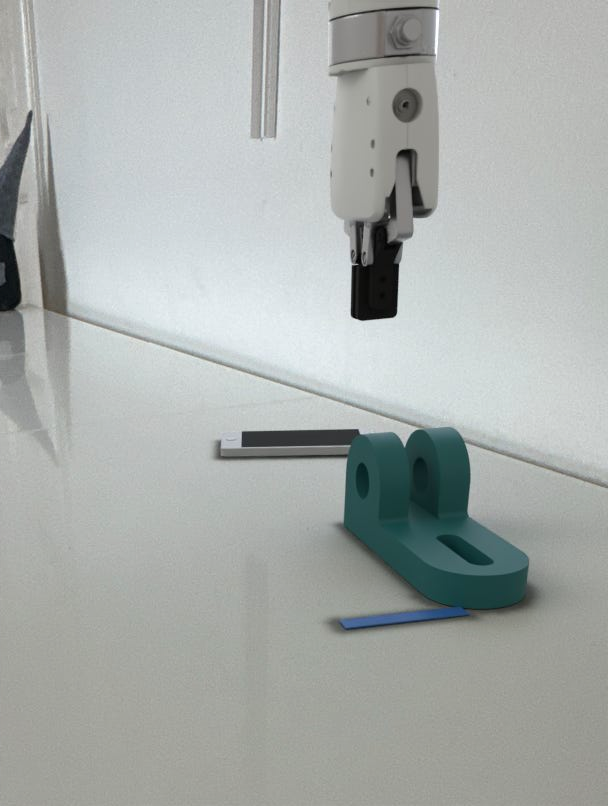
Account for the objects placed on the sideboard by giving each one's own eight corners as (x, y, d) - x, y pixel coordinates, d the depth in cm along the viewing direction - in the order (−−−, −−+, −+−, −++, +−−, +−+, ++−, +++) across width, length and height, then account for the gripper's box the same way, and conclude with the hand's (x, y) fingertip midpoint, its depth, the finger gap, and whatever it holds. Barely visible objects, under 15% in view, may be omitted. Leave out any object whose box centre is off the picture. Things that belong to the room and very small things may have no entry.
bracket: (343, 525, 78) (348, 425, 75) (425, 517, 79) (433, 418, 76) (444, 613, 62) (456, 491, 59) (545, 602, 63) (562, 481, 60)
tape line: (460, 607, 63) (460, 606, 63) (469, 615, 62) (469, 613, 62) (338, 621, 62) (339, 620, 62) (345, 629, 61) (345, 627, 61)
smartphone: (222, 439, 105) (222, 430, 104) (372, 436, 103) (373, 427, 102) (220, 457, 98) (220, 447, 98) (381, 454, 96) (381, 444, 96)
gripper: (483, 29, 64) (463, 325, 72) (390, 56, 78) (381, 303, 85) (371, 37, 63) (363, 335, 71) (297, 63, 77) (297, 312, 84)
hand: (373, 317), depth 78 cm, fingers closed
